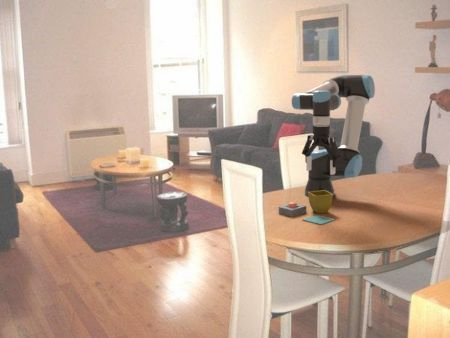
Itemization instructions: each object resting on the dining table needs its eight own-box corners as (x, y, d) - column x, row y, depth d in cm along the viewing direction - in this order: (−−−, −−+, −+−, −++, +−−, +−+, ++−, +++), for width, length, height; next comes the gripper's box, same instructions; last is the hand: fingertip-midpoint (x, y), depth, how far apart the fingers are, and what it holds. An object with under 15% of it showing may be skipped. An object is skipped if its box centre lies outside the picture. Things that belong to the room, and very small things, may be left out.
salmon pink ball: (292, 210, 247) (292, 201, 246) (298, 211, 244) (298, 203, 243) (286, 211, 244) (286, 203, 244) (292, 213, 241) (292, 204, 241)
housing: (293, 209, 250) (293, 202, 250) (306, 212, 244) (306, 205, 244) (278, 213, 244) (278, 206, 243) (291, 216, 238) (291, 210, 237)
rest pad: (316, 215, 239) (317, 214, 239) (335, 220, 231) (335, 219, 231) (302, 220, 232) (302, 219, 232) (320, 225, 225) (320, 224, 225)
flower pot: (315, 215, 240) (315, 195, 238) (307, 210, 248) (307, 191, 246) (333, 213, 242) (333, 194, 240) (324, 208, 250) (324, 190, 248)
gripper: (294, 124, 244) (294, 169, 248) (339, 128, 225) (338, 177, 230) (305, 122, 249) (304, 167, 253) (349, 126, 230) (348, 174, 234)
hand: (320, 172), depth 241 cm, fingers open, 13 cm apart
